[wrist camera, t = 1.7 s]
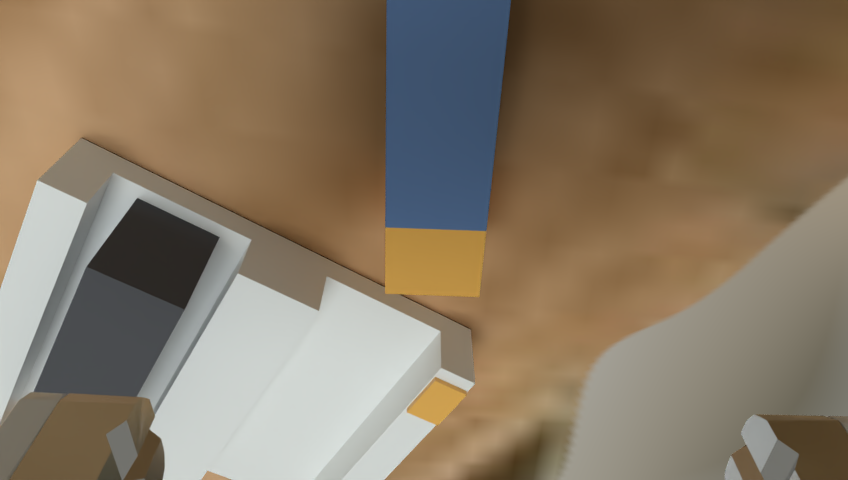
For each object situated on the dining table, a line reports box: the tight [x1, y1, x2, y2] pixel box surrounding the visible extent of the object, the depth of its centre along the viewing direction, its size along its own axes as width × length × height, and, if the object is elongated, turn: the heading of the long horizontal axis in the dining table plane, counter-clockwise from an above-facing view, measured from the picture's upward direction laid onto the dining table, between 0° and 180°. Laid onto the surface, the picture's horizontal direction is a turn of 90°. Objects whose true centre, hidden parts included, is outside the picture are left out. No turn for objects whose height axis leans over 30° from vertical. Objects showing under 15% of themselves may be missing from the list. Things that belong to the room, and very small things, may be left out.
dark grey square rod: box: [34, 198, 220, 397], centre depth 24 cm, size 12×3×4 cm, turn 148°
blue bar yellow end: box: [385, 0, 511, 297], centre depth 19 cm, size 12×3×4 cm, turn 178°
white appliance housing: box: [0, 138, 475, 480], centre depth 26 cm, size 13×16×3 cm
